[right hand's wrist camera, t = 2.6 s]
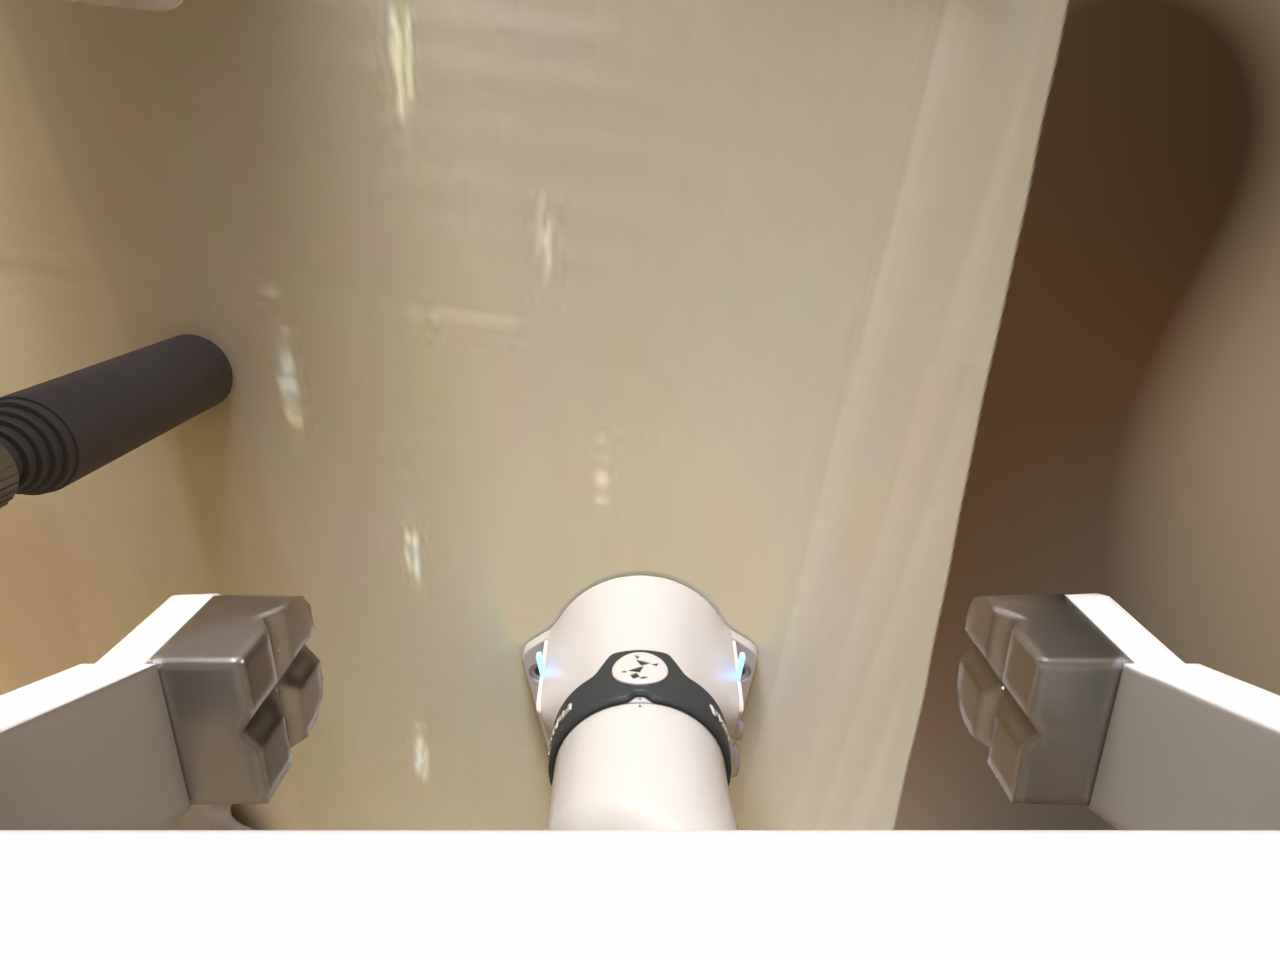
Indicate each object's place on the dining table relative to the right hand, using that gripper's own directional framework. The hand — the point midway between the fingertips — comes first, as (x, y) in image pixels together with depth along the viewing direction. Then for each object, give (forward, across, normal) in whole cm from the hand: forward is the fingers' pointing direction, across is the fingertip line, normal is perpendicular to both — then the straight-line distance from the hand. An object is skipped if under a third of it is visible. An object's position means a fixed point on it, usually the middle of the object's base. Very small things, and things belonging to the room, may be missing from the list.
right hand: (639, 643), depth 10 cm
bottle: (+48, -32, -8) cm, 58 cm away
